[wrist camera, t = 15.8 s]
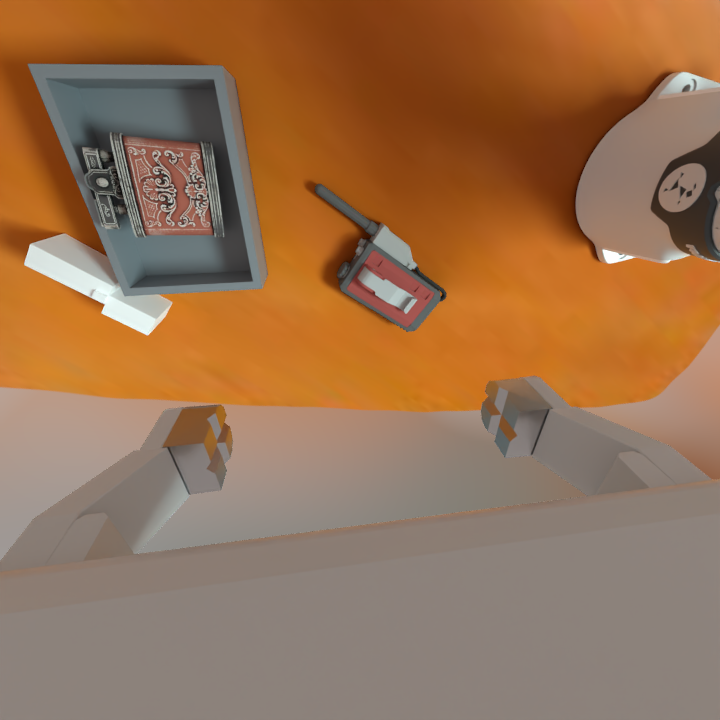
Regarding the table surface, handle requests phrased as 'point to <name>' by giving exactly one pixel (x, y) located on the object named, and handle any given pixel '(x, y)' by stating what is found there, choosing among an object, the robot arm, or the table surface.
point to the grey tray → (166, 122)
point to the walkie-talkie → (385, 273)
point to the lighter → (156, 186)
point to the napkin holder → (95, 281)
